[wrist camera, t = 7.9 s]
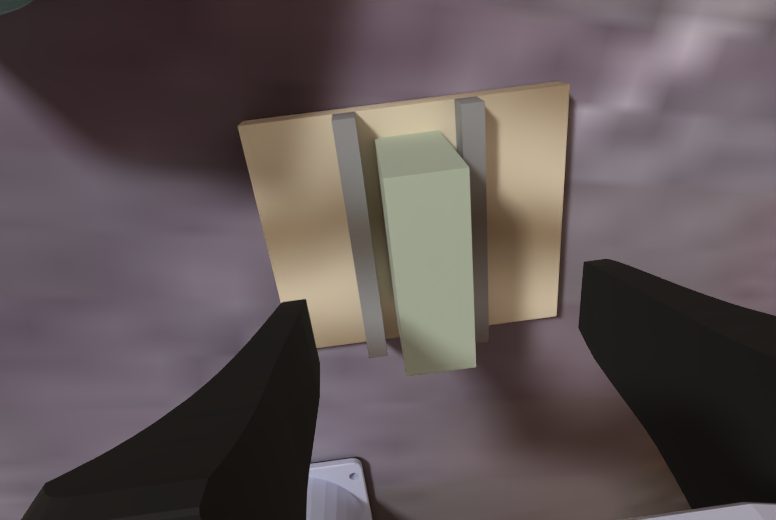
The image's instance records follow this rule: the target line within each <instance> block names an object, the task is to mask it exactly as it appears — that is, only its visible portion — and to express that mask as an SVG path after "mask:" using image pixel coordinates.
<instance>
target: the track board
mask: <svg viewBox="0 0 776 520" xmlns="http://www.w3.org/2000/svg"><path fill="white" fill-rule="evenodd" d="M569 90H570V84H567V83H563V82H560V81H557V82H549V83H541V84H533V85H525V86H517V87H509V88H501V89H493V90H485V91H477V92H469V93H461V94H453V95H446V96H438V97H430V98H422V99H414V100H406V101H398V102H390V103H382V104H374V105H366V106H358V107H350V108H342V109H334V110H326V111H318V112H310V113H302V114H294V115H286V116H278V117H270V118H262V119H254V120H246V121H242V122H241V123H240V124H239V125H238V130H239V134H240V138H241V142H242V146H243V151H244V155H245V159H246V163H247V167H248V171H249V175H250V179H251V183H252V187H253V191H254V195H255V199H256V203H257V207H258V212H259V216H260V220H261V224H262V228H263V232H264V236H265V240H266V244H267V248H268V252H269V256H270V260H271V264H272V268H273V273H274V277H275V281H276V285H277V289H278V293H279V297H280V301H281V303H282V302H287V301H294V300H302V299H306V302H307V306H308V311H309V315H310V320H311V325H312V329H313V334H314V339H315V343H316V348H322V347H329V346H337V345H344V344H352V343H359V342H367V348H368V355H369V358H373V357H380V356H388V355H387V346H386V339H389V338H397V337H400V334H399V328H398V322H397V316H396V309H395V303H394V296H393V288H392V279H391V271H390V263H389V255H388V246H387V238H386V230H385V222H384V213H383V205H382V197H381V189H380V180H379V172H378V164H377V156H376V147H375V139H374V138H381V137H389V136H397V135H405V134H413V133H421V132H429V131H437V130H439V131H440V132H441V133H442V134H443V136H444V137H445V138H446V139H447V141H448V142H449V143H450V144H451V145H452V147H453V148H454V149H455V150H456V152H457V153H458V154H459V155H460V157H461V158H462V159H463V160H464V161H465V163H466V164H467V165H468V166H469V171H470V200H471V230H472V260H473V289H474V319H475V344H477V343H485V342H489V325H494V324H502V323H509V322H517V321H524V320H532V319H539V318H547V317H554V316H556V315H557V297H558V280H559V263H560V246H561V228H562V211H563V194H564V176H565V159H566V142H567V124H568V107H569Z"/></svg>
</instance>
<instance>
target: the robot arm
mask: <svg viewBox="0 0 776 520" xmlns="http://www.w3.org/2000/svg"><path fill="white" fill-rule="evenodd" d="M579 330H580V332H581V334H582V336H583V338H584V340H585V342H586V344H587V346H588V348H589V350H590V351H591V353H592V355H593V357H594V359H595V360H596V362H597V363H598V365H599V366H600V367H601V369H602V370H603V372H604V373H605V374H606V376H607V377H608V379H609V380H610V381H611V383H612V384H613V386H614V387H615V388H616V390H617V391H618V392H619V394H620V395H621V396H622V398H623V399H624V401H625V402H626V403H627V405H628V406H629V407H630V409H631V410H632V411H633V413H634V414H635V416H636V417H637V418H638V420H639V421H640V422H641V424H642V425H643V426H644V428H645V429H646V431H647V432H648V434H649V435H650V437H651V438H652V440H653V441H654V443H655V444H656V446H657V448H658V450H659V451H660V453H661V455H662V456H663V458H664V460H665V462H666V463H667V465H668V467H669V469H670V470H671V472H672V474H673V475H674V477H675V479H676V481H677V483H678V484H679V486H680V488H681V490H682V492H683V494H684V495H685V497H686V499H687V501H688V503H689V505H690V507H691V508H692V509H691V510H684V511H677V512H670V513H663V514H656V515H649V516H642V517H635V518H628V519H621V520H776V316H773V315H770V314H766V313H762V312H759V311H755V310H751V309H748V308H744V307H741V306H738V305H734V304H731V303H728V302H725V301H722V300H719V299H716V298H713V297H710V296H707V295H704V294H702V293H699V292H696V291H693V290H691V289H688V288H685V287H683V286H680V285H677V284H675V283H672V282H670V281H667V280H664V279H662V278H659V277H657V276H654V275H652V274H649V273H647V272H644V271H641V270H639V269H636V268H634V267H631V266H628V265H626V264H623V263H620V262H617V261H613V260H610V259H602V260H595V261H587V262H584V266H583V278H582V291H581V303H580V316H579ZM319 398H320V362H319V357H318V352H317V348H316V343H315V339H314V334H313V329H312V325H311V320H310V315H309V311H308V306H307V302H306V299H302V300H294V301H287V302H282V303H281V304H280V305H279V306H278V308H277V309H276V310H275V311H274V312H273V314H272V315H271V316H270V317H269V318H268V320H267V321H266V322H265V323H264V324H263V326H262V327H261V328H260V329H259V330H258V332H257V333H256V334H255V335H254V336H253V337H252V338H251V340H250V341H249V342H248V343H247V344H246V345H245V346H244V347H243V348H242V349H241V350H240V351H239V353H238V354H237V355H236V356H235V357H234V358H233V359H232V360H231V361H230V362H229V363H228V364H227V365H226V366H225V367H224V368H223V369H222V370H221V371H220V372H219V373H218V374H217V375H215V376H214V377H213V378H212V379H211V380H210V381H209V382H208V383H206V384H205V385H204V386H203V387H202V388H200V389H199V390H198V391H197V392H196V393H194V394H193V395H192V396H191V397H190V398H188V399H187V400H186V401H184V402H183V403H181V404H180V405H179V406H177V407H176V408H175V409H173V410H172V411H170V412H169V413H168V414H166V415H165V416H163V417H162V418H161V419H159V420H158V421H156V422H155V423H154V424H152V425H151V426H149V427H147V428H146V429H144V430H143V431H141V432H139V433H138V434H136V435H135V436H133V437H132V438H130V439H128V440H126V441H125V442H123V443H121V444H120V445H118V446H116V447H115V448H113V449H111V450H109V451H108V452H106V453H104V454H102V455H100V456H99V457H97V458H95V459H93V460H91V461H89V462H87V463H85V464H83V465H81V466H79V467H77V468H75V469H73V470H71V471H69V472H67V473H65V474H63V475H61V476H59V477H58V478H55V479H53V480H51V481H49V482H47V483H45V485H44V486H43V488H42V489H41V490H40V492H39V493H38V495H37V496H36V498H35V499H34V501H33V502H32V504H31V505H30V507H29V509H28V510H27V512H26V513H25V515H24V516H23V518H22V519H21V520H373V519H372V514H371V509H370V504H369V498H368V493H367V488H366V483H365V477H364V472H363V467H362V463H361V461H360V460H359V459H356V458H349V459H342V460H335V461H327V462H320V463H313V464H310V463H311V456H312V449H313V442H314V435H315V427H316V420H317V413H318V405H319ZM352 473H355V474H352Z"/></svg>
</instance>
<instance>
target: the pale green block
mask: <svg viewBox="0 0 776 520" xmlns="http://www.w3.org/2000/svg"><path fill="white" fill-rule="evenodd" d="M374 139H375V147H376V156H377V164H378V172H379V180H380V189H381V197H382V205H383V213H384V222H385V230H386V238H387V246H388V255H389V263H390V271H391V279H392V288H393V296H394V303H395V309H396V316H397V322H398V328H399V334H400V340H401V347H402V353H403V359H404V365H405V371H406V377H407V376H414V375H422V374H429V373H437V372H444V371H451V370H459V369H466V368H474V367H476V349H475V319H474V289H473V260H472V230H471V200H470V171H469V166H468V165H467V164H466V163H465V161H464V160H463V159H462V158H461V157H460V155H459V154H458V153H457V152H456V150H455V149H454V148H453V147H452V145H451V144H450V143H449V142H448V141H447V139H446V138H445V137H444V136H443V134H442V133H441V132H440V131H439V130H437V131H429V132H421V133H413V134H405V135H397V136H389V137H381V138H374Z"/></svg>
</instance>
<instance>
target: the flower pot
mask: <svg viewBox="0 0 776 520" xmlns="http://www.w3.org/2000/svg"><path fill="white" fill-rule="evenodd" d="M32 1H33V0H0V15H2V14H6V13H10V12H13V11H15V10H18V9H20V8H22V7H24V6H26V5H28V4H29V3H31V2H32Z"/></svg>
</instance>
